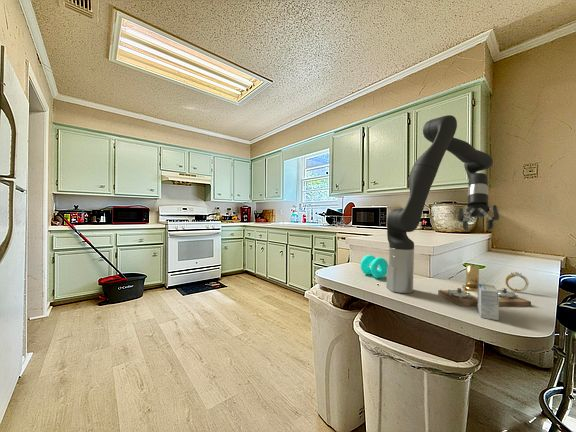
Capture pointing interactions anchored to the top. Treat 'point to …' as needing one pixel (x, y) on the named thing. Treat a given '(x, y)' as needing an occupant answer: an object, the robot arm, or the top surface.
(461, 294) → the steel gears
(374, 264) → the donuts
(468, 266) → the gold metal cylinder
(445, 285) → the top surface
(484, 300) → the medicine box
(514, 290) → the bracelet
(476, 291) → the gear board
